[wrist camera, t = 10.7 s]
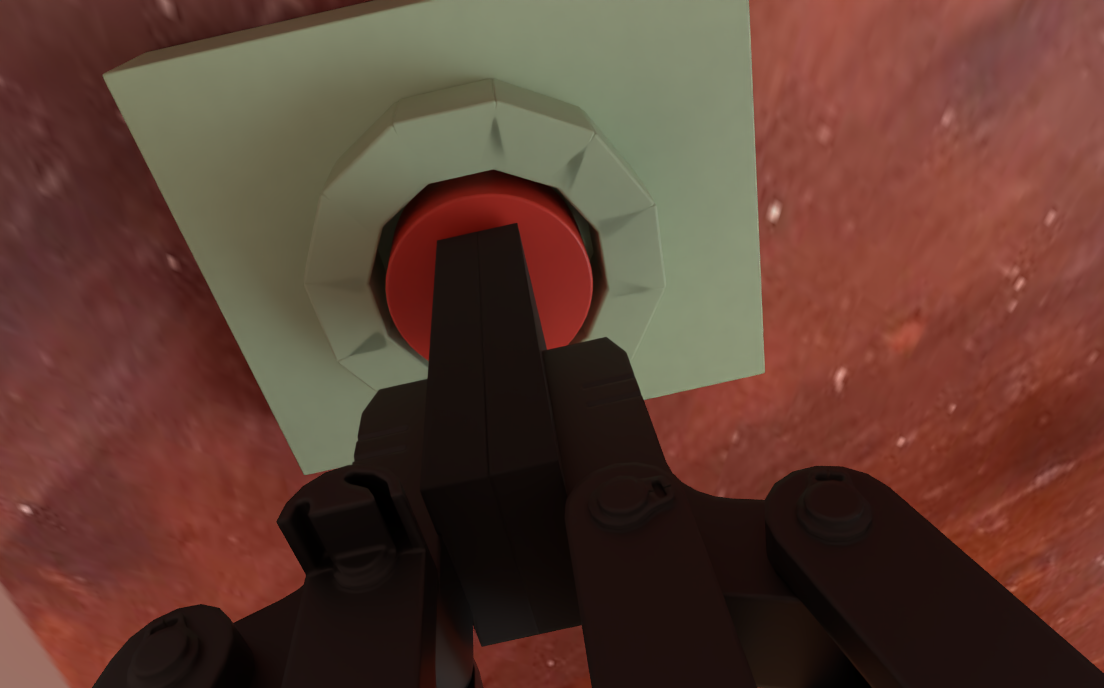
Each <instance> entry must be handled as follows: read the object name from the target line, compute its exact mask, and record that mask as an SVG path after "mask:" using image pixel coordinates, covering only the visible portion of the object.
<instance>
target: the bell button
mask: <svg viewBox="0 0 1104 688" xmlns="http://www.w3.org/2000/svg"><path fill="white" fill-rule="evenodd" d="M513 223H518V228H519V232H520V236H521V241H522V245H523V249H524V253H525V258H526V262H527V266H528V270H529V275H530V279H531V283H532V287H533V292H534V296H535V300H536V304H537V309H538V313H539V317H540V321H541V326H542V330H543V334H544V338H545V343H546V347H547V350H548V349H553V348H557V347H562V346H566V345H568V344H569V343H570V342H571V341H572V340H573V338H574V337H575V336H576V334H577V333H578V331H579V330H580V328H581V327H582V325H583V323H584V321H585V319H586V317H587V314H588V311H589V308H590V305H591V299H592V294H593V276H592V268H591V264H590V260H589V257H588V254H587V251H586V248H585V246H584V243H583V240H582V237H581V234H580V232H579V229H578V226H577V224H576V221H575V219H574V216H573V214H572V213H571V211H570V209H569V207H568V206H567V204H566V203H565V202H564V200H563V199H562V198H561V197H560V196H559V194H557V193H556V192H555V191H554V190H553V189H552V188H551V187H550V186H548V185H544V184H541V183H538V182H534V181H531V180H527V179H524V178H521V177H517V176H514V175H511V174H507V173H504V172H501V171H497V170H494V169H493V170H489V171H484V172H480V173H475V174H471V175H466V176H462V177H458V178H453V179H449V180H444V181H440V182H435V183H431V184H428V185H427V186H426V187H425V188H423V189H422V190H421V191H420V192H419V193H418V194H417V195H416V196H415V197H414V198H413V199H412V200H411V201H410V202H409V203H408V204H407V206H406V207H405V208H404V210H403V212H402V214H401V216H400V218H399V220H398V222H397V225H396V228H395V231H394V236H393V241H392V247H391V252H390V257H389V262H388V268H387V273H386V287H385V291H386V299H387V304H388V308H389V312H390V315H391V317H392V319H393V322H394V324H395V326H396V327H397V329H398V331H399V332H400V334H401V335H402V337H403V338H404V339H405V340H406V342H407V343H408V344H409V345H410V346H411V347H412V348H413V349H414V350H415V351H416V352H417V353H418V354H419V355H421V356H422V357H424V358H425V359H426V360H428V361H429V348H430V334H431V319H432V304H433V290H434V275H435V260H436V246H437V240H442V239H446V238H451V237H455V236H459V235H464V234H468V233H473V232H477V231H482V230H486V229H491V228H495V227H500V226H504V225H509V224H513Z"/></svg>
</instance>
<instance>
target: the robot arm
mask: <svg viewBox="0 0 1104 688" xmlns="http://www.w3.org/2000/svg"><path fill="white" fill-rule="evenodd" d="M357 438H358V441H357V442H356V446H355V452H354V462H352V465H346V466H343V467H340V468H338V469H335V470H332V471H329V472H326V473H324V474H322V475H321V476H319V477H317V478H316V479H314V480H312V481H311V482H309V483H308V484H306V485H304V486H303V487H302V488H301V489H300V490H299V491H298V492H297V493H296V494H295V495H294V496H293V497H292V498H291V499H290V500H289V501H288V502H287V503H286V504H285V506H284V508H283V510H282V512H281V514H280V516H279V518H278V520H277V524H278V526H279V528H280V529H281V531H282V533H283V535H284V536H285V538H286V540H287V542H288V544H289V545H290V547H291V549H292V551H293V552H294V554H295V556H296V558H297V560H298V561H299V563H300V565H301V567H302V569H303V570H304V572H305V574H306V578H305V582H304V585H303V586H302V587H300V588H299V589H298V590H297V591H295V592H293V593H292V594H290V595H288V596H286V597H285V598H283V599H281V600H280V601H278V602H275V603H273V604H271V605H269V606H267V607H265V608H263V609H261V610H259V611H257V612H255V613H253V614H251V615H249V616H247V617H245V618H243V619H241V620H239V621H236V622H234V623H233V622H232V621H231V619H230V618H229V617H228V616H227V615H226V614H225V613H224V612H223V611H222V610H221V609H220V608H217V607H212V606H207V605H202V604H200V605H194V606H189V607H184V608H178V609H176V610H174V611H172V612H170V613H168V614H165V615H163V616H161V617H159V618H157V619H155V620H153V621H152V622H150V623H149V624H148V625H146V626H145V627H144V628H142V629H141V630H140V631H139V632H137V633H136V634H135V635H133V636H132V637H131V638H130V639H129V640H128V641H127V642H126V643H125V644H124V645H123V647H122V648H121V649H120V650H119V651H118V652H117V654H116V655H115V656H114V657H113V658H112V659H111V661H110V662H109V663H108V665H107V666H106V668H105V669H104V671H103V672H102V674H101V675H100V677H99V678H98V680H97V681H96V683H95V684H94V686H93V687H92V688H483V684H482V680H481V676H480V672H479V670H478V667H477V665H476V662H475V660H474V658H473V626H474V628H475V631H476V633H477V636H478V638H479V641H480V643H481V646H482V647H483V646H487V645H492V644H496V643H501V642H506V641H510V640H515V639H519V638H524V637H529V636H533V635H538V634H542V633H547V632H552V631H556V630H561V629H565V628H570V627H575V626H579V625H582V629H583V635H584V642H585V648H586V654H587V660H588V666H589V672H590V679H591V685H592V688H757V687H760V688H1104V673H1103V672H1102V671H1100V670H1099V669H1098V668H1097V667H1096V666H1095V665H1094V664H1092V663H1091V662H1090V661H1089V660H1088V659H1087V658H1085V657H1084V656H1083V655H1082V654H1081V653H1080V652H1079V651H1077V650H1076V649H1075V648H1074V647H1073V646H1072V645H1070V644H1069V643H1068V642H1067V641H1066V640H1065V639H1064V638H1062V637H1061V636H1060V635H1059V634H1058V633H1057V632H1056V631H1054V630H1053V629H1052V628H1051V627H1050V626H1049V625H1047V624H1046V623H1045V622H1044V621H1043V620H1042V619H1041V618H1039V617H1038V616H1037V615H1036V614H1035V613H1034V612H1032V611H1031V610H1030V609H1029V608H1028V607H1027V606H1026V605H1024V604H1023V603H1022V602H1021V601H1020V600H1019V599H1017V598H1016V597H1015V596H1014V595H1013V594H1012V593H1011V592H1009V591H1008V590H1007V589H1006V588H1005V587H1004V586H1003V585H1001V584H1000V583H999V582H998V581H997V580H996V579H994V578H993V577H992V576H991V575H990V574H989V573H988V572H986V571H985V570H984V569H983V568H982V567H981V566H979V565H978V564H977V563H976V562H975V561H974V560H973V559H971V558H970V557H969V556H968V555H967V554H966V553H964V552H963V551H962V550H961V549H960V548H959V547H958V546H956V545H955V544H954V543H953V542H952V541H951V540H949V539H948V538H947V537H946V536H945V535H944V534H943V533H941V532H940V531H939V530H938V529H937V528H936V527H935V526H933V525H932V524H931V523H930V522H929V521H928V520H926V519H925V518H924V517H923V516H922V515H921V514H920V513H918V512H917V511H916V510H915V509H914V508H913V507H911V506H910V505H909V504H908V503H907V502H906V501H905V500H903V499H902V498H901V497H900V496H899V495H898V494H896V493H895V492H894V491H893V490H892V489H891V488H890V487H888V486H886V485H885V484H883V483H882V482H880V481H878V480H877V479H875V478H874V477H872V476H870V475H869V474H866V473H863V472H859V471H856V470H852V469H849V468H845V467H839V466H814V467H810V468H806V469H802V470H798V471H794V472H792V473H790V474H789V475H787V476H786V477H784V478H783V479H781V480H779V481H778V482H776V483H775V484H774V486H773V487H772V489H771V491H770V492H769V494H768V496H767V497H766V499H765V500H754V499H731V498H723V497H715V496H711V495H708V494H705V493H702V492H699V491H696V490H694V489H693V488H691V487H689V486H687V485H686V484H684V483H682V482H681V481H680V480H679V479H678V478H677V477H676V476H675V475H674V474H673V473H672V472H671V470H670V468H669V466H668V464H667V463H666V460H665V458H664V455H663V452H662V449H661V447H660V444H659V441H658V438H657V436H656V433H655V430H654V427H653V424H652V422H651V419H650V416H649V413H648V411H647V408H646V405H645V402H644V400H643V397H642V396H641V391H640V388H639V386H638V383H637V380H636V378H635V376H634V372H633V369H632V366H631V363H630V361H629V358H628V355H627V352H626V351H624V350H623V349H622V348H620V347H619V346H618V345H617V344H615V343H614V342H613V341H611V340H610V339H609V338H607V337H603V338H598V339H593V340H589V341H584V342H580V343H575V344H571V345H566V346H562V347H557V348H553V349H548V350H547V347H546V343H545V338H544V334H543V330H542V326H541V321H540V317H539V313H538V309H537V304H536V300H535V296H534V292H533V287H532V283H531V279H530V275H529V270H528V266H527V262H526V258H525V253H524V249H523V245H522V241H521V236H520V232H519V228H518V223H513V224H509V225H504V226H500V227H495V228H491V229H486V230H482V231H477V232H473V233H468V234H464V235H459V236H455V237H451V238H446V239H442V240H437V246H436V260H435V275H434V290H433V304H432V319H431V334H430V348H429V363H428V377H427V379H424V380H419V381H415V382H410V383H406V384H401V385H397V386H392V387H388V388H383V389H379V390H378V392H377V393H376V394H375V396H374V397H373V398H372V400H371V401H370V403H369V404H368V405H367V407H366V408H365V409H364V411H363V412H362V415H361V420H360V425H359V431H358V436H357Z"/></svg>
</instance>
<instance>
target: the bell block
mask: <svg viewBox="0 0 1104 688" xmlns="http://www.w3.org/2000/svg"><path fill="white" fill-rule="evenodd" d="M103 78H104V80H105V82H106V84H107V86H108V88H109V90H110V92H111V94H112V96H113V98H114V100H115V102H116V104H117V106H118V108H119V110H120V112H121V114H122V116H123V118H124V120H125V122H126V124H127V126H128V128H129V130H130V132H131V134H132V136H133V138H134V140H135V142H136V144H137V146H138V148H139V150H140V152H141V154H142V156H143V157H144V159H145V161H146V163H147V165H148V167H149V169H150V171H151V173H152V175H153V177H154V179H155V181H156V183H157V185H158V187H159V189H160V191H161V193H162V195H163V197H164V199H165V201H166V203H167V205H168V207H169V209H170V211H171V213H172V215H173V217H174V219H175V221H176V223H177V225H178V227H179V229H180V231H181V233H182V235H183V237H184V239H185V241H186V242H187V244H188V246H189V248H190V250H191V252H192V254H193V256H194V258H195V260H196V262H197V264H198V266H199V268H200V270H201V272H202V274H203V276H204V278H205V280H206V282H207V284H208V286H209V288H210V290H211V292H212V294H213V296H214V298H215V300H216V302H217V304H218V306H219V308H220V310H221V312H222V314H223V316H224V318H225V320H226V322H227V324H228V326H229V328H230V329H231V331H232V333H233V335H234V337H235V339H236V341H237V343H238V345H239V347H240V349H241V351H242V353H243V355H244V357H245V359H246V361H247V363H248V365H249V367H250V369H251V371H252V373H253V375H254V377H255V379H256V381H257V383H258V385H259V387H260V389H261V391H262V393H263V395H264V397H265V399H266V401H267V403H268V405H269V407H270V409H271V411H272V413H273V415H274V416H275V418H276V420H277V422H278V424H279V426H280V428H281V430H282V432H283V434H284V436H285V438H286V440H287V442H288V444H289V446H290V448H291V450H292V452H293V454H294V456H295V458H296V460H297V462H298V464H299V466H300V468H301V470H302V472H303V474H304V475H308V474H313V473H317V472H322V471H326V470H331V469H335V468H340V467H343V466H346V465H352V462H354V452H355V446H356V442H357V441H358V438H357V436H358V431H359V425H360V420H361V415H362V412H363V411H364V409H365V408H366V407H367V405H368V404H369V403H370V401H371V400H372V398H373V397H374V396H375V394H376V393H377V392H378V390H379V389H383V388H388V387H392V386H397V385H401V384H406V383H410V382H415V381H419V380H424V379H427V377H428V363H429V361H428V360H426V359H425V358H424V357H422V356H421V355H419V354H418V353H417V352H416V351H415V350H414V349H413V348H412V347H411V346H410V345H409V344H408V343H407V342H406V340H405V339H404V338H403V337H402V335H401V334H400V332H399V331H398V329H397V327H396V326H395V324H394V322H393V319H392V317H391V315H390V312H389V308H388V304H387V299H386V291H385V287H386V273H387V268H388V262H389V257H390V252H391V247H392V241H393V236H394V231H395V228H396V225H397V222H398V220H399V218H400V216H401V214H402V212H403V210H404V208H405V207H406V206H407V204H408V203H409V202H410V201H411V200H412V199H413V198H414V197H415V196H416V195H417V194H418V193H419V192H420V191H421V190H422V189H423V188H425V187H426V186H427V185H428V184H431V183H435V182H440V181H444V180H449V179H453V178H458V177H462V176H466V175H471V174H475V173H480V172H484V171H489V170H493V169H494V170H497V171H501V172H504V173H507V174H511V175H514V176H517V177H521V178H524V179H527V180H531V181H534V182H538V183H541V184H544V185H548V186H550V187H551V188H552V189H553V190H554V191H555V192H556V193H557V194H559V196H560V197H561V198H562V199H563V200H564V202H565V203H566V204H567V206H568V207H569V209H570V211H571V213H572V214H573V216H574V219H575V221H576V224H577V226H578V229H579V232H580V234H581V237H582V240H583V243H584V246H585V248H586V251H587V254H588V257H589V260H590V264H591V268H592V276H593V294H592V299H591V305H590V308H589V311H588V314H587V317H586V319H585V321H584V323H583V325H582V327H581V328H580V330H579V331H578V333H577V334H576V336H575V337H574V338H573V340H572V341H571V342H570V343H569V344H568V345H571V344H575V343H580V342H584V341H589V340H593V339H598V338H603V337H607V338H609V339H610V340H611V341H613V342H614V343H615V344H617V345H618V346H619V347H620V348H622V349H623V350H624V351H626V352H627V355H628V358H629V361H630V363H631V366H632V369H633V372H634V376H635V378H636V380H637V383H638V386H639V388H640V391H641V396H642V397H643V400H646V399H650V398H655V397H659V396H664V395H668V394H673V393H677V392H682V391H686V390H691V389H695V388H700V387H704V386H709V385H713V384H718V383H722V382H727V381H731V380H736V379H740V378H745V377H749V376H754V375H758V374H763V373H765V362H764V339H763V316H762V293H761V270H760V246H759V223H758V200H757V177H756V154H755V130H754V107H753V84H752V61H751V37H750V14H749V0H373V1H369V2H365V3H360V4H356V5H352V6H347V7H343V8H338V9H334V10H330V11H325V12H321V13H316V14H312V15H308V16H303V17H299V18H295V19H290V20H286V21H281V22H277V23H273V24H268V25H264V26H260V27H255V28H251V29H246V30H242V31H238V32H233V33H229V34H224V35H220V36H216V37H211V38H207V39H203V40H198V41H194V42H189V43H185V44H181V45H176V46H172V47H168V48H163V49H159V50H154V51H150V52H146V53H144V54H142V55H140V56H138V57H136V58H134V59H132V60H130V61H128V62H126V63H124V64H122V65H120V66H118V67H116V68H114V69H112V70H110V71H108V72H106V73H104V74H103Z"/></svg>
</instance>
